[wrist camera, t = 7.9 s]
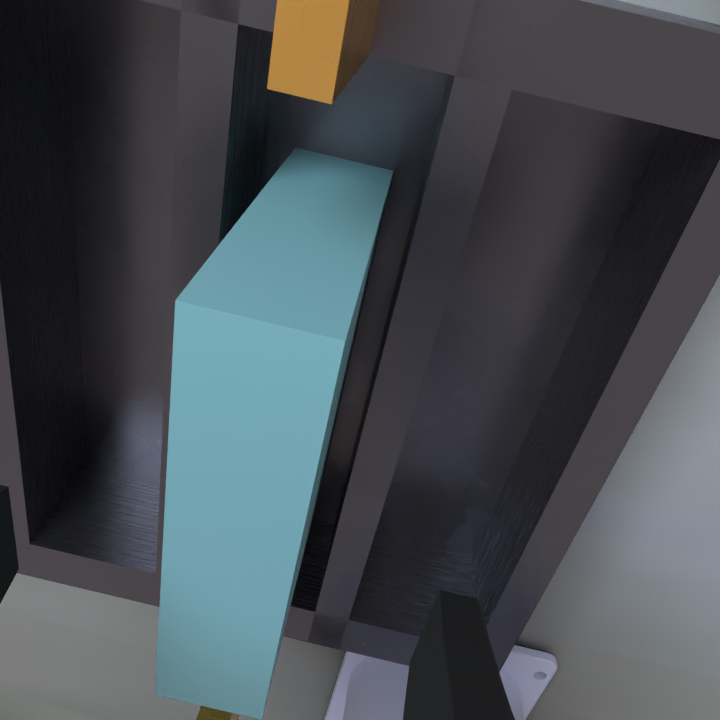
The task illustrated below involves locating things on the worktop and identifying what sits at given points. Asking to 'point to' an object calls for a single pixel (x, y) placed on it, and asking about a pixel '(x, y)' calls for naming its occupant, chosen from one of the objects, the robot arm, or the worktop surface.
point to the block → (258, 422)
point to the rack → (386, 280)
